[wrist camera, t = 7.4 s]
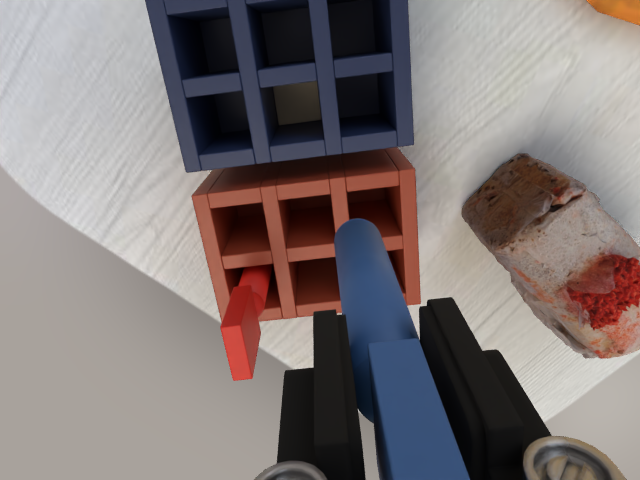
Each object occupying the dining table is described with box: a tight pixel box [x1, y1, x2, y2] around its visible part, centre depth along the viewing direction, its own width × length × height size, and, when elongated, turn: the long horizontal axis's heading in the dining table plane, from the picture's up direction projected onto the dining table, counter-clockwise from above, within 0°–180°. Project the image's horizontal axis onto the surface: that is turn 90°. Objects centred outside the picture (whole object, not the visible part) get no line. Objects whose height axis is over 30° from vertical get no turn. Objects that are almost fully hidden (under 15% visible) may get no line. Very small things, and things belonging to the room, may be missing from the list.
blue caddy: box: [145, 0, 414, 173], centre depth 27 cm, size 13×9×8 cm
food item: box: [462, 154, 640, 359], centre depth 31 cm, size 14×8×10 cm, turn 48°
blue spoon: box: [334, 218, 470, 480], centre depth 12 cm, size 2×3×14 cm, turn 6°
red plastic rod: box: [221, 264, 273, 381], centre depth 29 cm, size 2×3×14 cm, turn 7°
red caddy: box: [192, 147, 421, 321], centre depth 31 cm, size 13×9×8 cm
